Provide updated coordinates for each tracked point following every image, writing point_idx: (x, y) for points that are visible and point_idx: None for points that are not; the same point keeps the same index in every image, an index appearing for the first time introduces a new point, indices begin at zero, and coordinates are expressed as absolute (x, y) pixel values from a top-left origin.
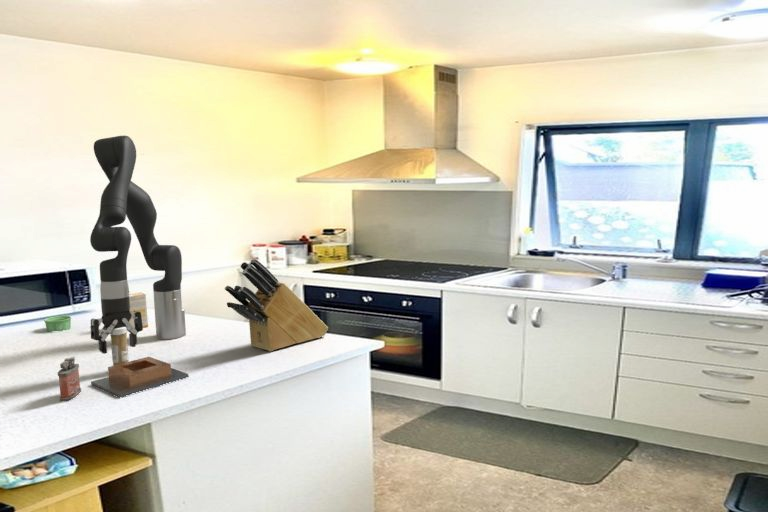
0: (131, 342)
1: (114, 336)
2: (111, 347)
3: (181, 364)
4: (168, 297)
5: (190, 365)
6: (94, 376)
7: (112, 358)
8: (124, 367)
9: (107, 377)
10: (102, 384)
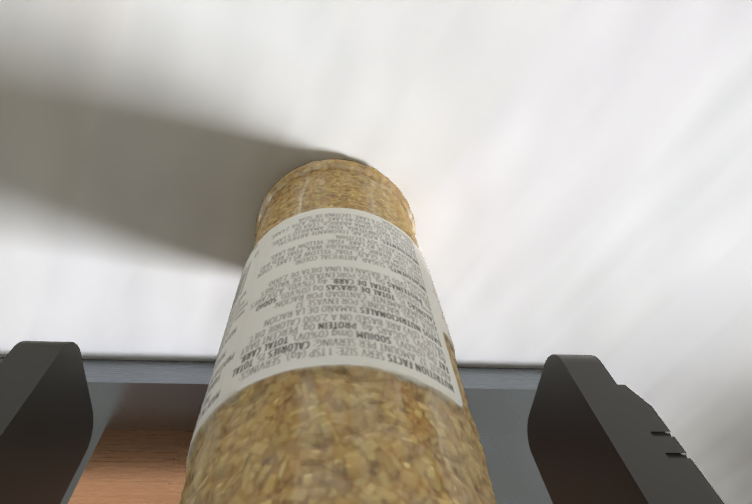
0: (565, 447)
1: None
2: (205, 395)
3: (691, 443)
4: None
5: None
6: (66, 152)
7: (236, 292)
8: None
9: (111, 388)
10: None
